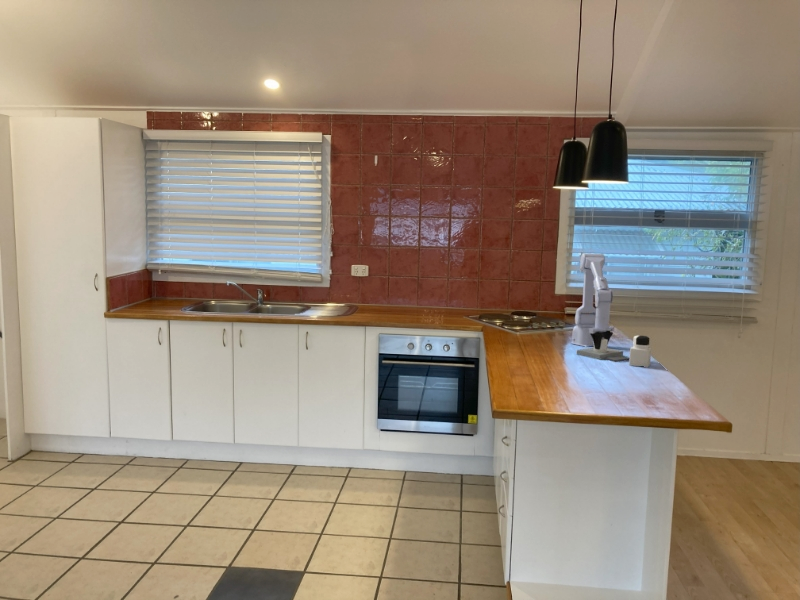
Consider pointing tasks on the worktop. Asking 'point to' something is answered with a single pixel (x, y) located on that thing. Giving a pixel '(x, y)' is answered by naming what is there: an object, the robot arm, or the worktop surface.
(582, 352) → the plate
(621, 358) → the phone
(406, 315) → the worktop surface
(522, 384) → the worktop surface
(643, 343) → the medicine bottle
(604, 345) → the charger
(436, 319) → the worktop surface
